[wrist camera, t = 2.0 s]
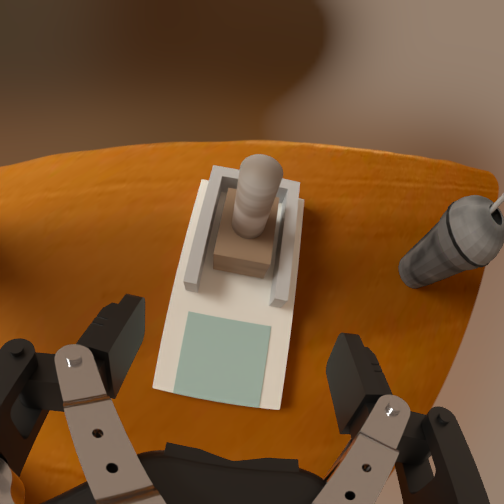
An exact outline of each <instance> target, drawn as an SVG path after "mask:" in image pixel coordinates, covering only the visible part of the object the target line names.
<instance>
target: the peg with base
mask: <svg viewBox="0 0 504 504" xmlns="http://www.w3.org/2000/svg"><path fill="white" fill-rule="evenodd" d="M282 177H283V170H282V167H281V165H280V164H279V163H278V162H277V161H276V160H275V159H274V158H272V157H270V156H267V155H262V154H256V155H251V156H249V157H247V158H246V159H244V160H243V162H242V163H241V166H240V171H239V178H238V184H237V189H233V188H228V192H227V196H226V200H225V204H224V209H223V213H222V218H221V222H220V226H219V231H218V235H217V240H216V245H215V249H214V254H213V269H215V270H220V271H225V272H230V273H236V274H241V275H246V276H252V277H257V278H264V276H265V274H266V272H267V270H268V268H269V266H270V264H271V257H272V250H273V242H274V235H275V227H276V220H277V212H278V204H279V197H276V194H277V191H278V189H279V186H280V183H281V180H282Z"/></svg>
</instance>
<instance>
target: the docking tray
mask: <svg viewBox="0 0 504 504" xmlns="http://www.w3.org/2000/svg"><path fill="white" fill-rule="evenodd" d="M239 171H240V170H237V169H232V168H226V167H221V166H215V165H213V168H212V172H211V175H210V179H209V181H208V180H201V184H200V187H199V191H198V194H197V198H196V201H195V205H194V208H193V212H192V215H191V219H190V223H189V226H188V230H187V234H186V238H185V241H184V245H183V249H182V253H181V257H180V261H179V265H178V269H177V273H176V277H175V281H174V286H173V290H172V294H171V299H170V303H169V307H168V312H167V316H166V321H165V326H164V330H163V335H162V340H161V345H160V350H159V355H158V360H157V366H156V371H155V376H154V382H153V388H155V389H159V390H163V391H167V392H172V393H176V394H180V395H185V396H190V397H195V398H200V399H205V400H211V401H216V402H222V403H228V404H235V405H242V406H249V407H257V408H266V409H275V410H280V405H281V398H282V392H283V385H284V378H285V371H286V364H287V357H288V349H289V342H290V334H291V326H292V318H293V309H294V301H295V292H296V282H297V273H298V263H299V253H300V242H301V231H302V220H303V208H304V199H300V198H299V187H300V182H296V181H291V180H287V179H282V180H281V183H280V186H279V189H278V191H277V194H276V197H279V204H278V212H277V220H276V227H275V235H274V242H273V250H272V257H271V264H270V266H269V268H268V270H267V272H266V274H265V276H264V278H257V277H252V276H246V275H241V274H236V273H230V272H225V271H220V270H215V269H213V254H214V249H215V245H216V240H217V235H218V231H219V226H220V222H221V218H222V213H223V209H224V204H225V200H226V196H227V192H228V188H233V189H237V184H238V178H239Z"/></svg>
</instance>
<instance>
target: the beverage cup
mask: <svg viewBox="0 0 504 504" xmlns="http://www.w3.org/2000/svg"><path fill="white" fill-rule="evenodd" d="M503 201H504V193H503V194H502V195H501V197H500V198H499V199H498V200H497V201H496V202H495V203H493V202H492V201H491V200H489V199H487V198H485V197H482V196H478V195H472V196H467V197H463V198H461V199H459V200H458V201H455V202H453V203H452V204H451V205H450V206H448V209H447V211H446V212H445V213H444V214H443V216H442V217H441V218H440V221H439V222H438V223H437V224H436V225H435V226H434V227H433V228H432V229H431V230H430V231H429V232H428V233H427V234H426V235H425V236H424V237H423V238H422V239H421V240H420V241H419V242H418V243H417V244H416V245H415V246H414V247H413V248H412V249H410V250H409V251H408V252H407V254H406V255H405V256H404V257H403V258H402V259H401V261H400V263H399V274H400V276H401V279H402V280H403V282H404V283H405V284H406V285H407V286H409V287H411V288H419V287H422V286H426V285H429V284H432V283H434V282H437V281H440V280H442V279H445V278H447V277H450V276H452V275H455V274H458V273H460V272H462V271H465V270H471V269H475V268H478V267H484V266H486V265H488V264H489V262H490V261H491V260H493V259H494V258H495V257H496V256H497V254H498V253H499V251H500V249H501V248H502V246H503V243H504V218H503V215H502V213H501V211H500V210H499V208H498V207H499V206H500V205H501V204H502V202H503Z"/></svg>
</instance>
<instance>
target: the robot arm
mask: <svg viewBox="0 0 504 504" xmlns="http://www.w3.org/2000/svg"><path fill="white" fill-rule="evenodd" d="M144 332H145V299H144V298H143V297H139V296H134V295H130V294H126V295H125V296H124V297H123V299H122V300H121V301H120V303H119V304H116V303H111V304H109V305H107V306H106V307H104V308H103V309H102V310H101V311H100V312H99V314H98V315H97V317H96V318H95V319H94V320H93V322H92V323H91V324H90V326H89V327H88V328H87V330H86V331H85V332H84V334H83V335H82V336H81V338H80V339H79V340H78V342H77V343H76V344H72V345H67V346H64V347H62V348H60V349H59V350H58V351H57V353H56V354H46V353H36V352H35V349H34V346H33V344H32V343H31V342H29V341H28V340H25V339H13V340H10V341H8V342H7V343H5V344H4V345H3V346H2V348H1V349H0V504H24V500H25V487H24V484H23V482H22V481H21V479H20V478H19V476H20V473H21V471H22V469H23V466H24V464H25V462H26V459H27V457H28V455H29V452H30V450H31V448H32V446H33V444H34V441H35V439H36V437H37V435H38V433H39V431H40V429H41V427H42V425H43V422H44V420H45V418H46V416H47V414H48V412H49V410H53V411H62V412H65V415H66V419H67V423H68V426H69V430H70V433H71V436H72V440H73V443H74V446H75V449H76V452H77V455H78V458H79V461H80V463H81V466H82V469H83V471H84V474H85V477H86V479H87V481H86V482H84V483H82V484H80V485H79V486H77V487H75V488H73V489H71V490H69V491H67V492H65V493H62V494H60V495H58V496H56V497H54V498H52V499H50V500H48V501H45V502H43V503H41V504H375V502H376V500H377V498H378V496H379V494H380V493H381V491H382V489H383V487H384V485H385V483H386V481H387V479H388V477H389V475H390V472H391V470H392V468H393V466H394V464H395V468H396V472H397V476H398V481H399V485H400V489H401V494H402V499H403V504H490V502H489V499H488V496H487V493H486V491H485V488H484V485H483V482H482V480H481V477H480V474H479V472H478V469H477V467H476V464H475V461H474V459H473V457H472V454H471V452H470V450H469V447H468V445H467V443H466V440H465V438H464V435H463V433H462V431H461V429H460V426H459V424H458V422H457V420H456V418H455V416H454V415H453V414H452V413H451V412H450V411H449V410H447V409H446V408H443V407H433V408H432V409H431V410H430V411H429V412H428V414H427V415H424V414H420V413H415V412H411V411H410V408H409V406H408V404H407V403H406V402H405V401H404V400H403V399H401V398H399V397H397V396H394V395H392V392H391V390H390V388H389V385H388V383H387V381H386V378H385V376H384V374H383V373H382V369H381V367H380V366H379V362H378V360H377V358H376V356H375V354H374V353H373V352H372V351H371V350H370V349H369V348H368V347H364V345H363V343H362V341H361V338H360V336H359V335H357V334H348V333H340V334H339V336H338V338H337V341H336V343H335V345H334V348H333V350H332V352H331V355H330V357H329V359H328V362H327V366H326V375H327V379H328V383H329V387H330V392H331V396H332V400H333V405H334V409H335V414H336V418H337V422H338V427H339V432H340V434H351V440H350V441H349V442H348V444H347V445H346V447H345V448H344V450H343V451H342V453H341V454H340V456H339V457H338V458H337V460H336V461H335V463H334V464H333V466H332V467H331V468H330V470H329V471H328V472H327V474H326V475H325V476H324V478H323V479H322V478H321V477H319V476H317V475H315V474H313V473H311V472H309V471H306V470H303V469H300V468H299V466H298V460H297V459H277V458H261V459H252V460H243V461H230V460H227V459H225V458H222V457H219V456H216V455H214V454H211V453H208V452H206V451H203V450H201V449H197V448H192V447H187V446H182V445H177V444H172V443H168V442H167V444H166V448H165V450H158V451H149V452H143V453H140V454H137V455H136V453H135V451H134V449H133V447H132V445H131V443H130V440H129V438H128V436H127V434H126V432H125V430H124V428H123V425H122V423H121V421H120V419H119V416H118V414H117V412H116V409H115V407H114V405H113V402H112V400H111V398H113V399H115V398H116V396H117V394H118V392H119V389H120V387H121V385H122V383H123V381H124V379H125V377H126V374H127V372H128V370H129V368H130V366H131V364H132V362H133V360H134V358H135V356H136V354H137V352H138V349H139V347H140V345H141V343H142V341H143V337H144ZM431 455H432V458H433V461H434V464H435V468H436V473H435V476H433V472H432V469H431V466H430V463H429V460H428V458H429V457H430V456H431Z"/></svg>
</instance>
